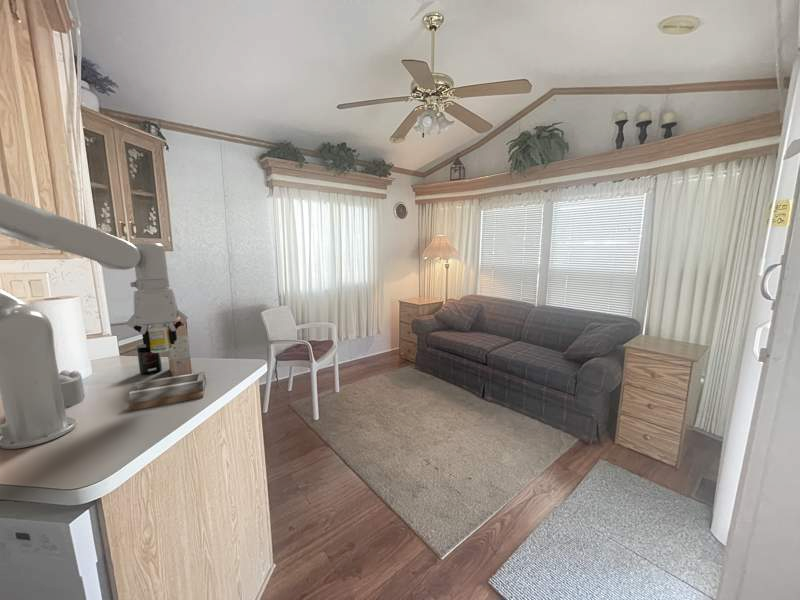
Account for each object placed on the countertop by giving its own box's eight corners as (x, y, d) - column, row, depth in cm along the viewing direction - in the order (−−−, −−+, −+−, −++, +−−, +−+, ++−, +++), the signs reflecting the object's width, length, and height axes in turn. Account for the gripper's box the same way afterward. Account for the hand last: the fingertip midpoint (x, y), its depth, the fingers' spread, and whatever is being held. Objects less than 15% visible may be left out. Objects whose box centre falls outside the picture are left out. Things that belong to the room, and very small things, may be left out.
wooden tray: (128, 410, 92) (126, 396, 91) (141, 392, 104) (139, 379, 103) (203, 397, 100) (201, 384, 99) (206, 381, 112) (205, 369, 111)
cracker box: (193, 375, 118) (187, 318, 115) (173, 379, 114) (166, 321, 111) (188, 365, 128) (181, 313, 125) (169, 369, 125) (162, 315, 122)
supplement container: (159, 367, 127) (156, 341, 125) (165, 371, 122) (161, 344, 121) (137, 372, 121) (133, 345, 120) (142, 376, 117) (139, 348, 116)
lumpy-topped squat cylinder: (31, 415, 90) (25, 385, 89) (39, 399, 100) (34, 372, 98) (83, 403, 97) (78, 375, 96) (86, 390, 106) (81, 364, 105)
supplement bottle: (158, 353, 96) (154, 321, 94) (146, 352, 98) (142, 320, 96) (176, 348, 101) (172, 318, 99) (165, 347, 103) (161, 317, 101)
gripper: (112, 288, 89) (121, 352, 92) (186, 284, 97) (193, 343, 99) (120, 285, 96) (128, 345, 98) (189, 282, 103) (195, 338, 106)
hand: (161, 344), depth 99 cm, fingers closed on supplement bottle, 5 cm apart
